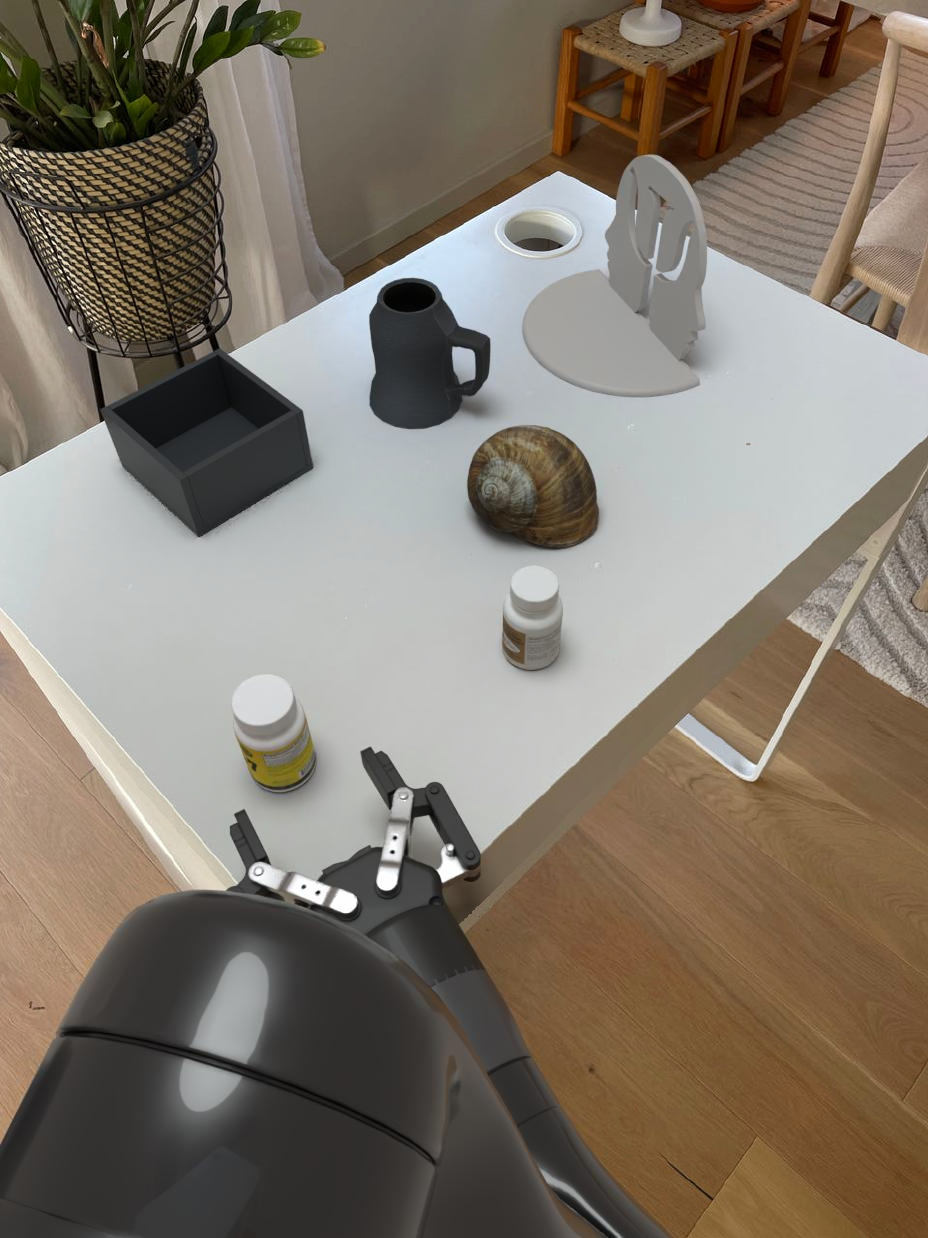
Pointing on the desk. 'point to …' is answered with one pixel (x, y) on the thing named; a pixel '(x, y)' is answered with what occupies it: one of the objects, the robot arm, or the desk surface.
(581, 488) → the seashell
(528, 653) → the pill bottle
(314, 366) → the desk surface
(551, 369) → the ornament
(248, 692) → the supplement bottle
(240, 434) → the bin
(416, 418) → the mug
